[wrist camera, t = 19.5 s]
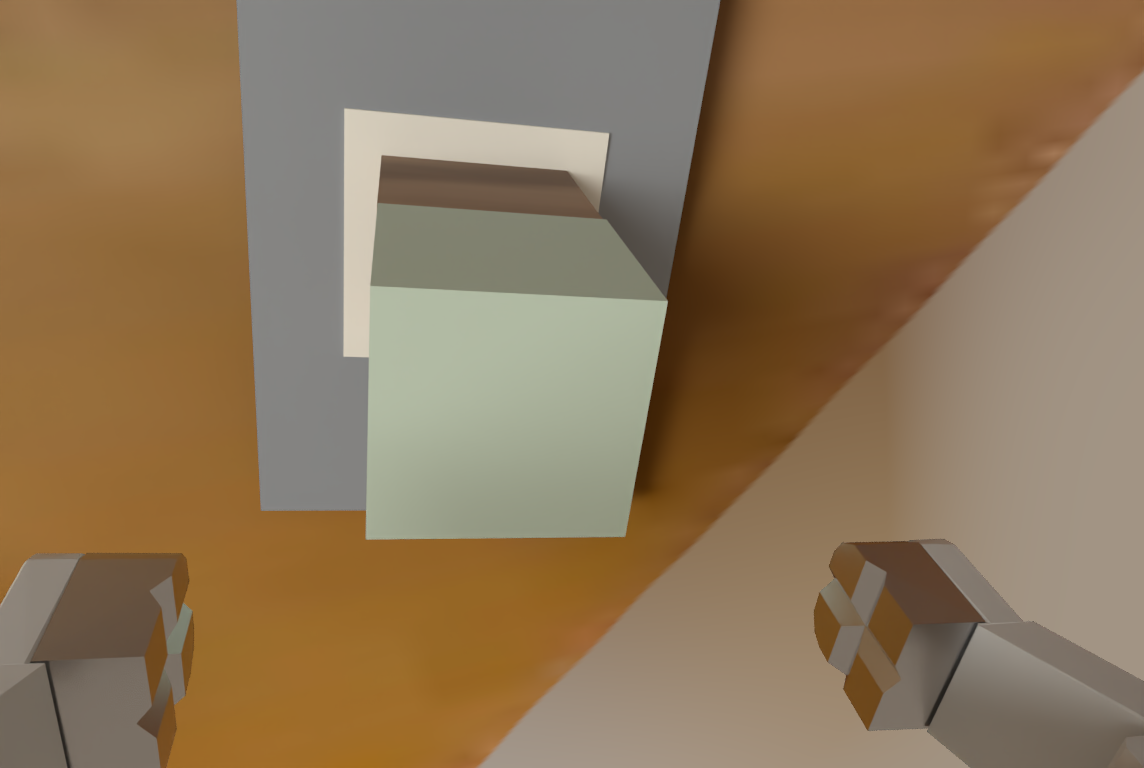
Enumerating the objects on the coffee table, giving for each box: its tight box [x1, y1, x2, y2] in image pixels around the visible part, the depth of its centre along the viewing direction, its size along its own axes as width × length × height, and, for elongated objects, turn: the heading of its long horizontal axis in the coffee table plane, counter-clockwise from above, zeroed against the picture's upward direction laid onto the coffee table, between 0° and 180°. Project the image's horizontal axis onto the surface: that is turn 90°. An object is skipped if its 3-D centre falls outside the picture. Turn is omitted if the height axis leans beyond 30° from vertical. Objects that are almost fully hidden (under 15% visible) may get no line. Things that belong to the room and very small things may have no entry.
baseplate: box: [237, 0, 720, 511], centre depth 24 cm, size 18×12×1 cm, turn 173°
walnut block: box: [377, 155, 602, 219], centre depth 22 cm, size 5×5×5 cm
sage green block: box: [366, 203, 668, 539], centre depth 17 cm, size 5×5×5 cm
